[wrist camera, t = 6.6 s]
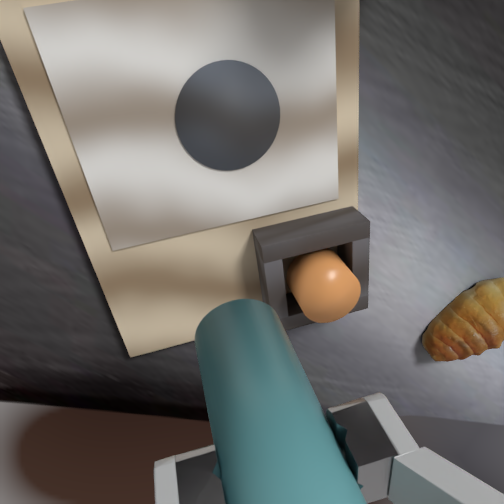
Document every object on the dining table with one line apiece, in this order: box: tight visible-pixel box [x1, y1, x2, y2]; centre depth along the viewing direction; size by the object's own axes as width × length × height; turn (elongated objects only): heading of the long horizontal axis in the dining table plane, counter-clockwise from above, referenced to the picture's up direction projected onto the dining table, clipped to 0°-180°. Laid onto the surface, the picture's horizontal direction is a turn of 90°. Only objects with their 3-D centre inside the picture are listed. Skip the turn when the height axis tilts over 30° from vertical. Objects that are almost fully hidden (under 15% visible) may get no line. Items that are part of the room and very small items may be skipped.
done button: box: [286, 248, 361, 323], centre depth 27 cm, size 4×4×3 cm
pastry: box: [422, 278, 504, 361], centre depth 37 cm, size 9×7×4 cm
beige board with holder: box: [0, 0, 370, 357], centre depth 24 cm, size 23×18×4 cm
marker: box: [195, 299, 367, 504], centre depth 9 cm, size 3×3×11 cm
